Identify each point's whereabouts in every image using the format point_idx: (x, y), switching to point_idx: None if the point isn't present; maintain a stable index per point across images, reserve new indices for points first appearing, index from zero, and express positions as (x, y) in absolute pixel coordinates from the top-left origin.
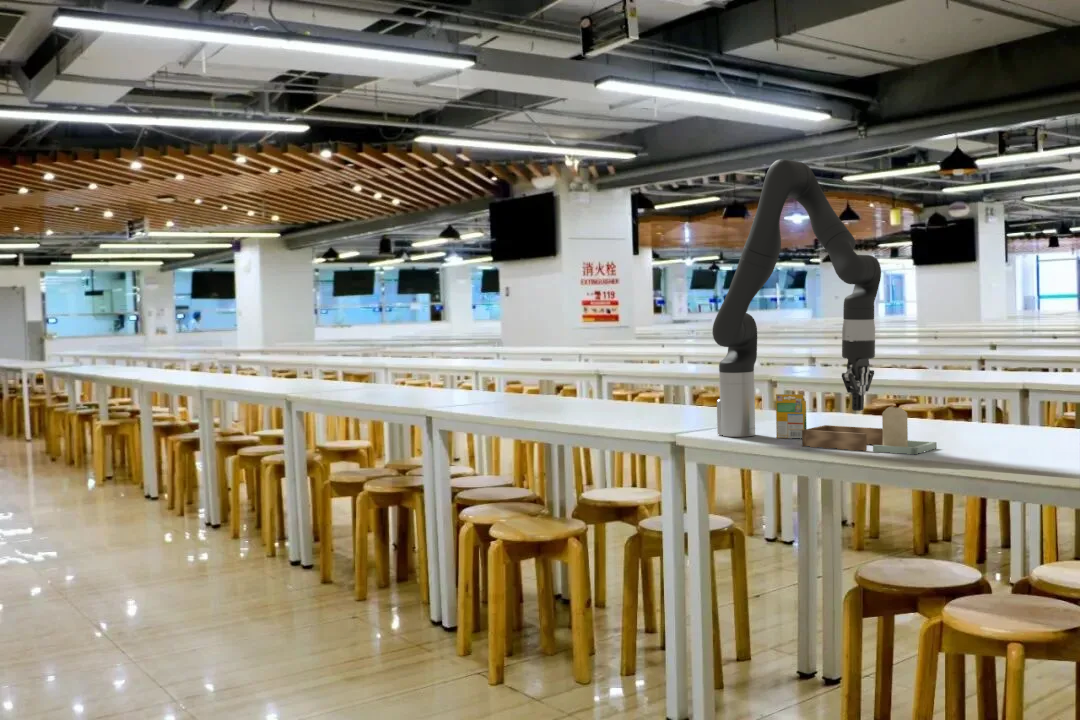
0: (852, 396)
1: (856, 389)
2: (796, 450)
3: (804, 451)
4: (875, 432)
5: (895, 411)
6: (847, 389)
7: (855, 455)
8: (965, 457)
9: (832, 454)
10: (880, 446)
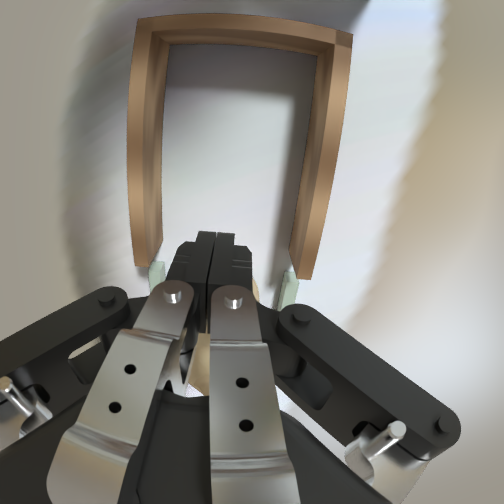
0: (184, 276)
1: (101, 358)
2: (75, 72)
3: (68, 101)
4: (300, 241)
5: (191, 384)
6: (77, 308)
7: (80, 245)
8: (188, 393)
9: (62, 192)
10: (150, 287)
